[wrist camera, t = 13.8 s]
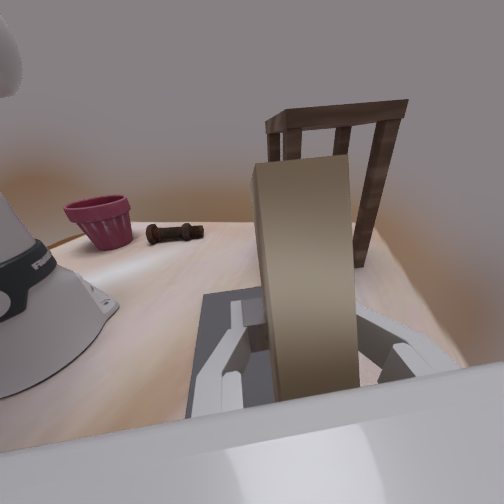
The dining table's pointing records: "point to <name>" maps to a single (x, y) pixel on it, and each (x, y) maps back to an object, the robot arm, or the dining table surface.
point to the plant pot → (103, 220)
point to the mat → (210, 334)
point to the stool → (345, 149)
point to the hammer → (307, 274)
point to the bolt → (173, 232)
